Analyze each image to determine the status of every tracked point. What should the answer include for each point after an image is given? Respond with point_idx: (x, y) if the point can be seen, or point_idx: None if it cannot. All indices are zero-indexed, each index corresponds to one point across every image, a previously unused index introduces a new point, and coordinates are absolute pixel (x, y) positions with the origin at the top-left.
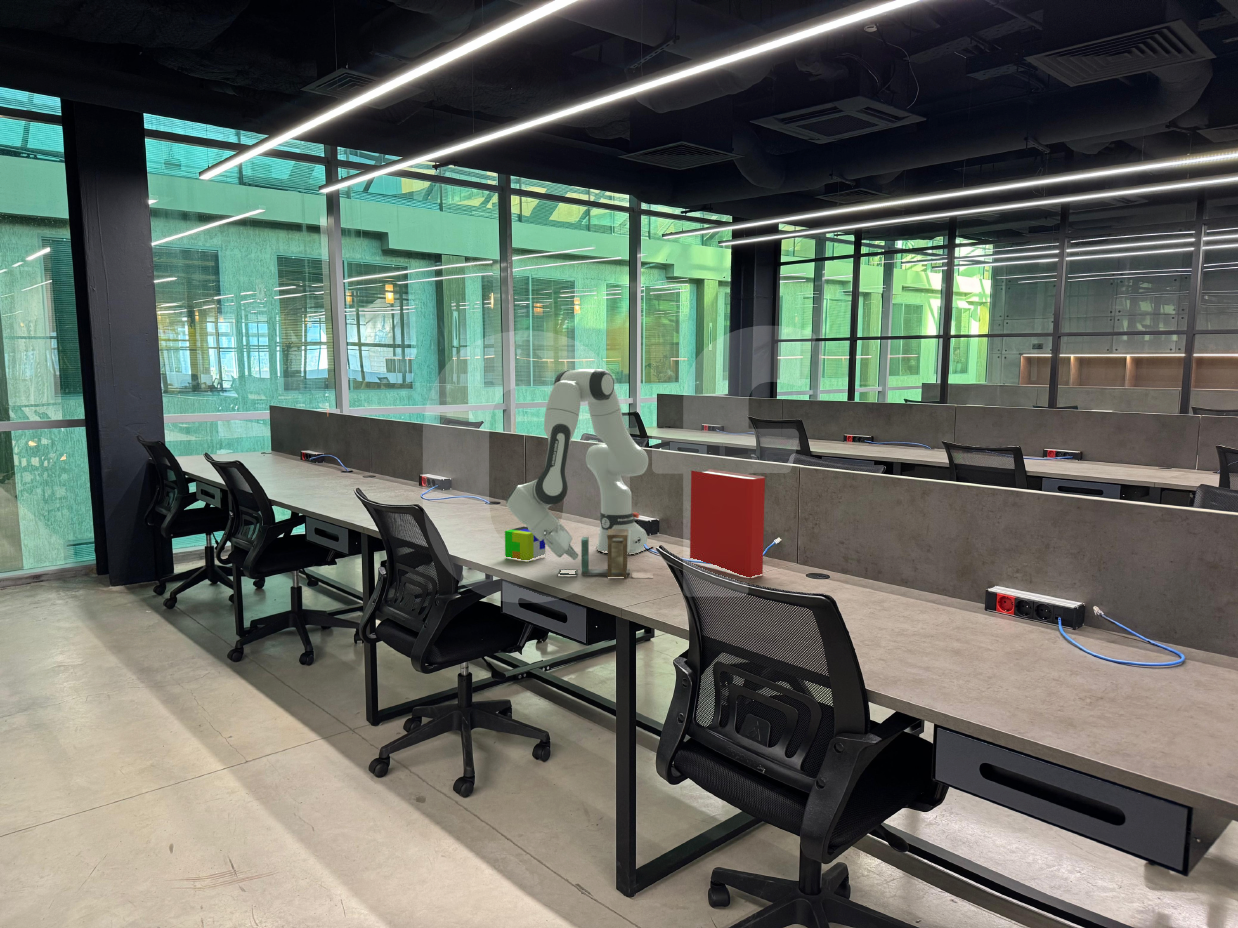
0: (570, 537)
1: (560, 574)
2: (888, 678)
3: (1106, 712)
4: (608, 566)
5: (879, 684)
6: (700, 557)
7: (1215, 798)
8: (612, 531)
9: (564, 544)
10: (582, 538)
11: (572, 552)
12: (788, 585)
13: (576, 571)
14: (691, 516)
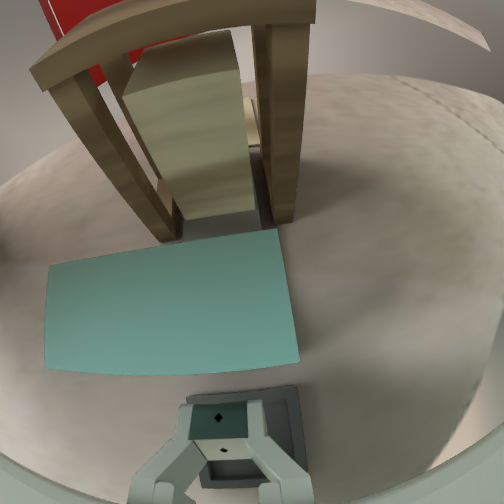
0: (7, 476)
1: (306, 466)
2: (471, 39)
3: (440, 12)
4: (295, 182)
5: (481, 46)
6: None
7: (481, 32)
8: (142, 6)
9: (486, 493)
10: (165, 361)
11: (284, 452)
12: None
13: (236, 398)
14: (55, 6)
